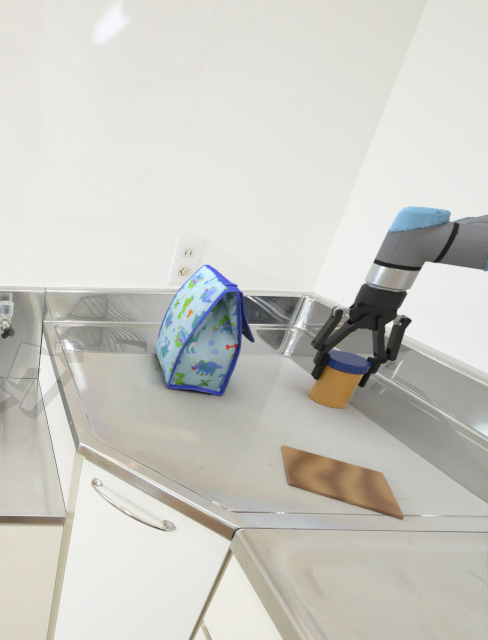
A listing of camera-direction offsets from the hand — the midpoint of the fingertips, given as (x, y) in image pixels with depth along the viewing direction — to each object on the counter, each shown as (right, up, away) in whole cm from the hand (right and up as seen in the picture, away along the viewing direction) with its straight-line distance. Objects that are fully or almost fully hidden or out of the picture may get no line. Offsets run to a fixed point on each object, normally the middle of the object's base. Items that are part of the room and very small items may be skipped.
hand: (336, 380), depth 99 cm
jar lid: (0, +5, -3) cm, 5 cm away
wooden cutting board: (-19, -18, -23) cm, 35 cm away
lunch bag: (-30, +2, +11) cm, 32 cm away
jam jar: (0, -5, +3) cm, 5 cm away
